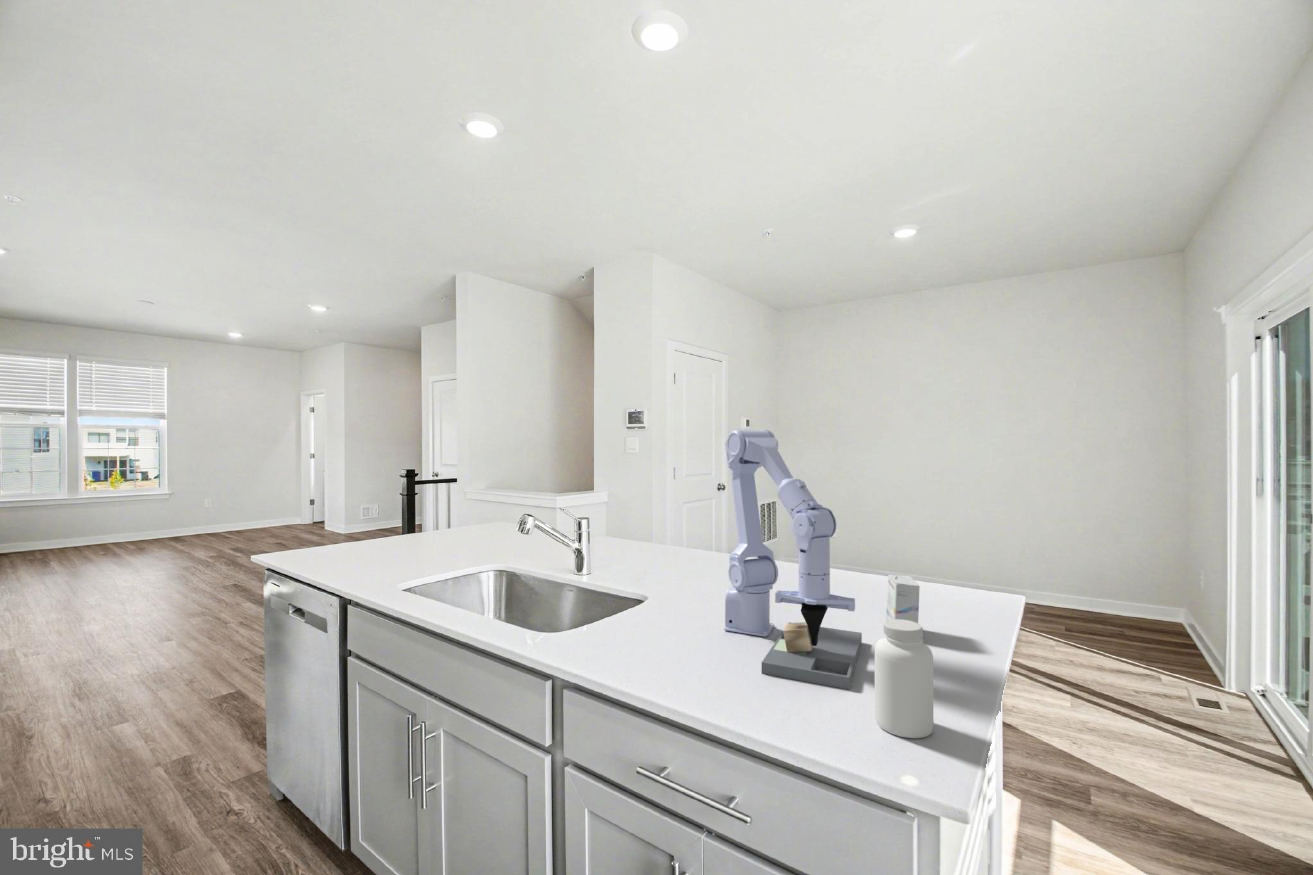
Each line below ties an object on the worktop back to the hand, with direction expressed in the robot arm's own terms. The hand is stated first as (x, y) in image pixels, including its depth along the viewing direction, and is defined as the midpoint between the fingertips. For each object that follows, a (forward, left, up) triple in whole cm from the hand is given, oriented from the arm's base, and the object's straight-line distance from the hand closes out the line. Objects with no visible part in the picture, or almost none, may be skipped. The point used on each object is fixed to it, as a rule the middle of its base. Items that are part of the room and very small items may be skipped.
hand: (814, 644), depth 106 cm
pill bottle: (+16, -19, -4) cm, 25 cm away
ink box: (+15, +24, -4) cm, 29 cm away
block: (-2, 0, -1) cm, 3 cm away
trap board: (0, +2, -3) cm, 4 cm away
